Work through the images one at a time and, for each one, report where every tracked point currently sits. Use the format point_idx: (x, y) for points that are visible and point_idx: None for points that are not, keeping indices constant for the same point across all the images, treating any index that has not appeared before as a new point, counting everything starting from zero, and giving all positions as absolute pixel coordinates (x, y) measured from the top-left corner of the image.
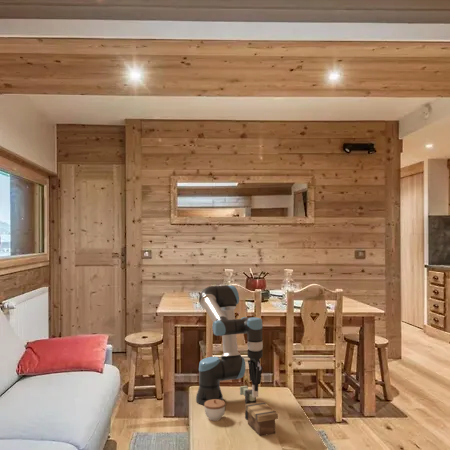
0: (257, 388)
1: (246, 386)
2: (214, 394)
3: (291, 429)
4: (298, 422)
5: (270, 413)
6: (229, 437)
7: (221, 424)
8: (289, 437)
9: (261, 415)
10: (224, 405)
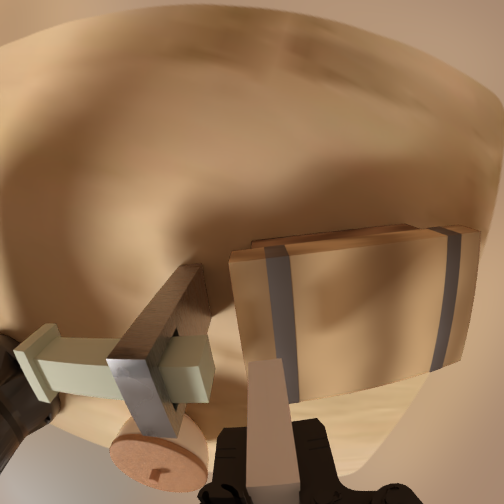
0: (327, 447)
1: (27, 361)
2: (27, 400)
3: (387, 122)
4: (314, 49)
5: (464, 281)
6: (358, 409)
7: (235, 419)
8: (452, 175)
9: (459, 343)
10: (178, 448)
